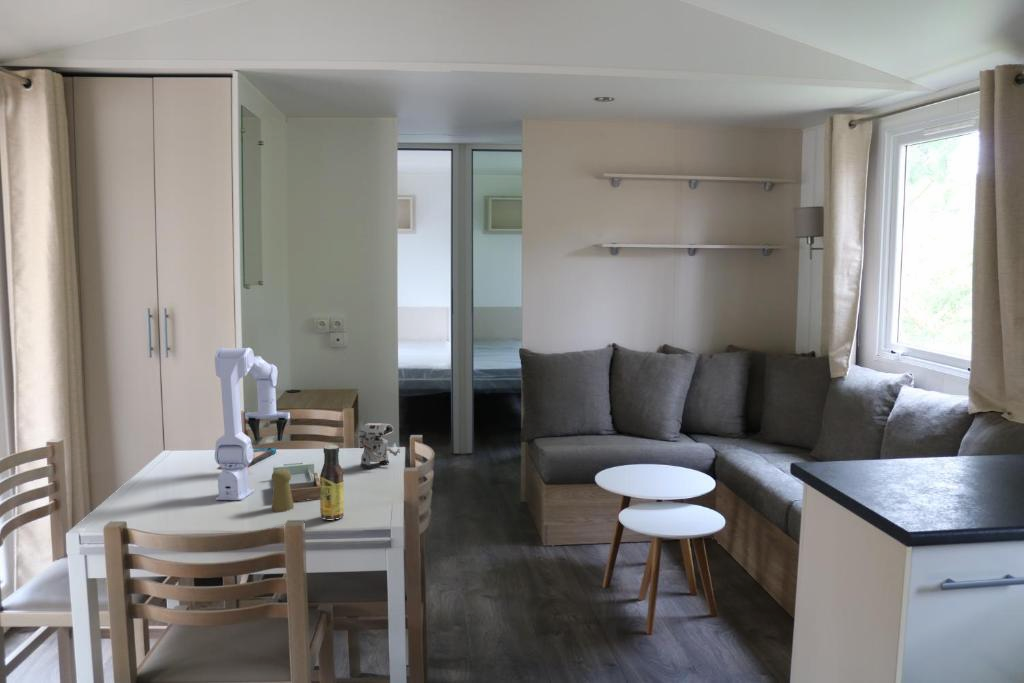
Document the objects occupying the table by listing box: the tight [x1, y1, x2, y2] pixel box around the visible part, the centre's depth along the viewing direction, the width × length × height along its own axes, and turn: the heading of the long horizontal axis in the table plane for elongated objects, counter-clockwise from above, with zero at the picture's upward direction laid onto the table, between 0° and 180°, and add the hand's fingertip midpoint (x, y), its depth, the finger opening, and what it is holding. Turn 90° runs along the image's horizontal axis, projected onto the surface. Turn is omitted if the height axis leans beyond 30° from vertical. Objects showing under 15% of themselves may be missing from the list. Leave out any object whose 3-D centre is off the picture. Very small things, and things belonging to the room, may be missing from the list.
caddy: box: [291, 472, 320, 502], centre depth 237 cm, size 17×13×4 cm
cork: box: [271, 470, 295, 513], centre depth 222 cm, size 6×6×11 cm
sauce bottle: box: [319, 444, 345, 519], centre depth 213 cm, size 6×6×20 cm
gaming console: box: [219, 447, 277, 469], centre depth 276 cm, size 24×3×10 cm
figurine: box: [359, 422, 401, 470], centre depth 265 cm, size 9×12×15 cm
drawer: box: [272, 462, 315, 489], centre depth 247 cm, size 19×13×3 cm, turn 19°
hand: (268, 440), depth 262 cm, fingers open, 7 cm apart
